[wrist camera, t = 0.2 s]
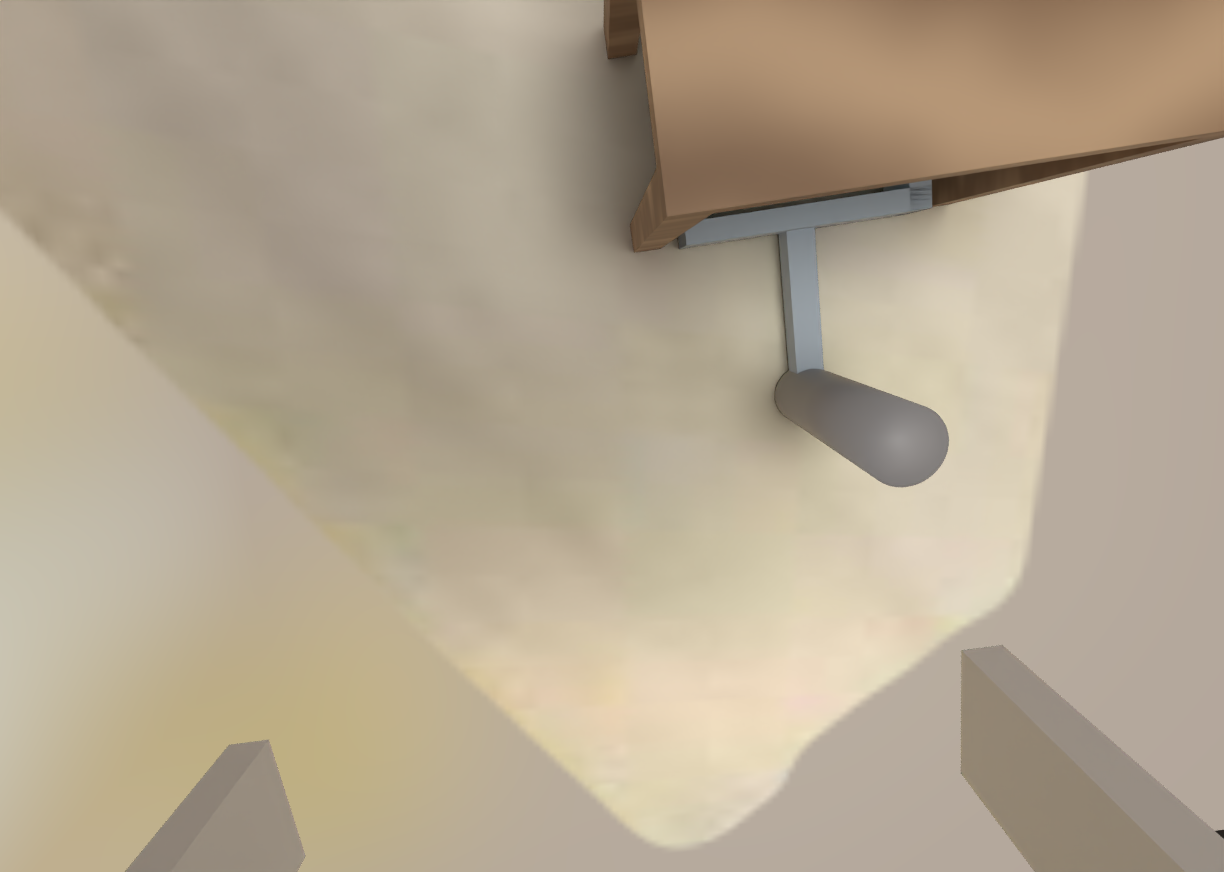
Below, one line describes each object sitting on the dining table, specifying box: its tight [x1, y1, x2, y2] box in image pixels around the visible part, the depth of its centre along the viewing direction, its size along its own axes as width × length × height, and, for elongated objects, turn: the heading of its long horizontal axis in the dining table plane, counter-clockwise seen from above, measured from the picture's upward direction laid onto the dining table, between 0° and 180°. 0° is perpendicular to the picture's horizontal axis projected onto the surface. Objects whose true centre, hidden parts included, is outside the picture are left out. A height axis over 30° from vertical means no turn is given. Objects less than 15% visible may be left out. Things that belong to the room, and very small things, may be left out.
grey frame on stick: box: [678, 180, 949, 487], centre depth 29 cm, size 24×13×13 cm, turn 8°
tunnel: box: [604, 0, 1224, 253], centre depth 25 cm, size 12×19×18 cm, turn 98°
